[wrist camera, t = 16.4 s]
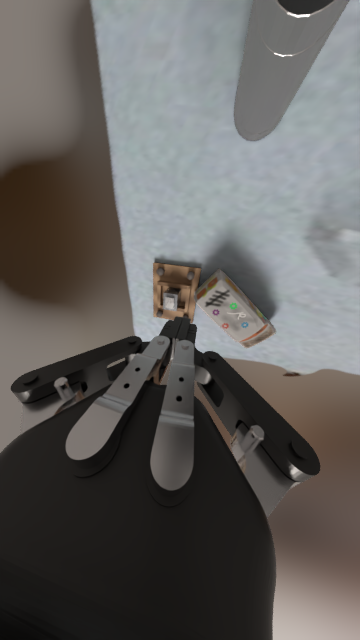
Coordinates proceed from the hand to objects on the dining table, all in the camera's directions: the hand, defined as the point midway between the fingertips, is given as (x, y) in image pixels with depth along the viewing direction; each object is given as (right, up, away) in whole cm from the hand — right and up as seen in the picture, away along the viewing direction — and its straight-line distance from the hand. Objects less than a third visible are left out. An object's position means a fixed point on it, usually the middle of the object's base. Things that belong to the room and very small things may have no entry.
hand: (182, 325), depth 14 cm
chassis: (-2, +9, +32) cm, 33 cm away
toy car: (+17, +5, +30) cm, 35 cm away
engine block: (-2, +8, +30) cm, 32 cm away
